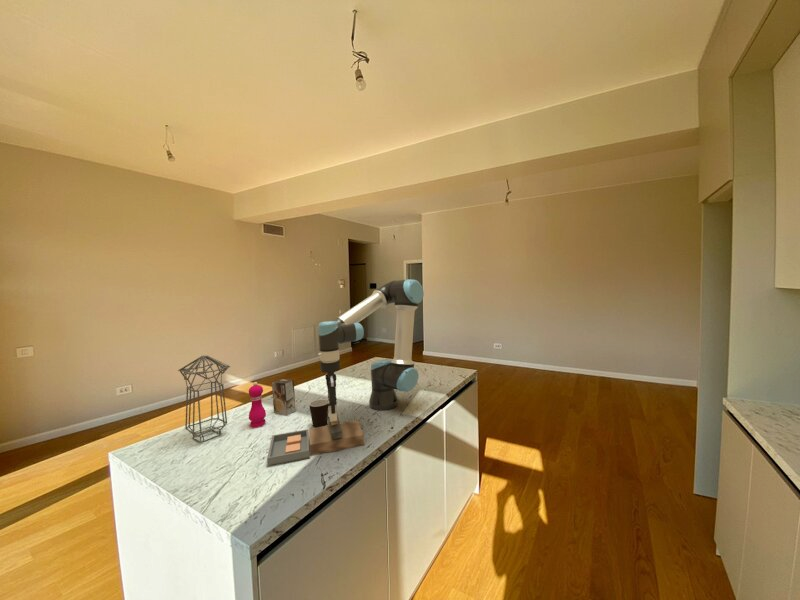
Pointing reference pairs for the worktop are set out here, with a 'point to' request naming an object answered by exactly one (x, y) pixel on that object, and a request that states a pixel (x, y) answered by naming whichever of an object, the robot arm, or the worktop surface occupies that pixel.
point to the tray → (279, 448)
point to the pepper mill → (256, 406)
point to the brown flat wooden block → (324, 443)
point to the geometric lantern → (202, 390)
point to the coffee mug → (319, 412)
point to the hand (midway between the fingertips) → (333, 419)
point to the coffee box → (283, 396)
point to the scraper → (335, 428)
